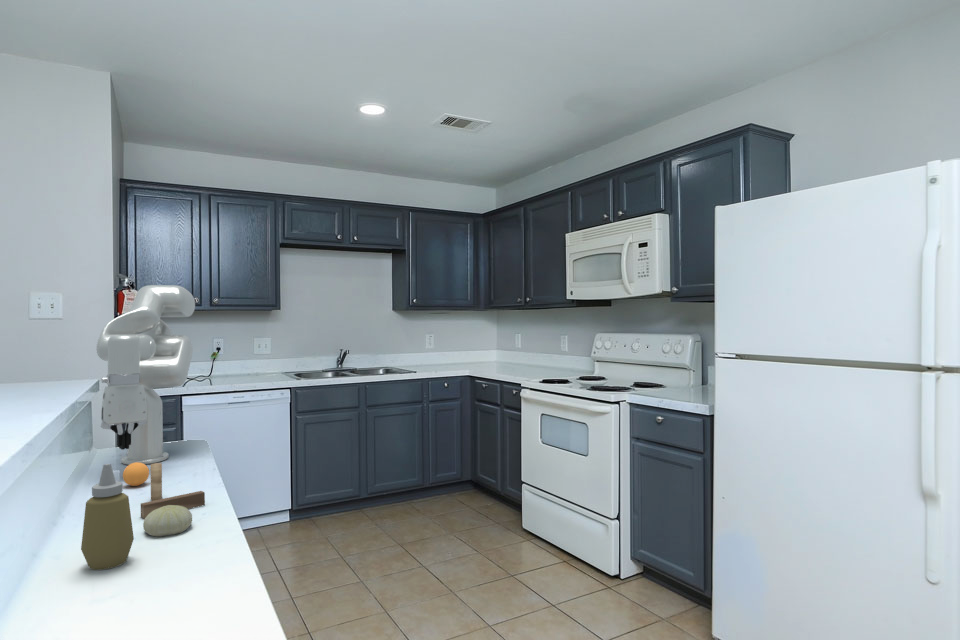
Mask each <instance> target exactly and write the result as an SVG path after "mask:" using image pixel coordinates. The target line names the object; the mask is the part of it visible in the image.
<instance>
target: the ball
mask: <svg viewBox="0 0 960 640" xmlns="http://www.w3.org/2000/svg"><path fill="white" fill-rule="evenodd" d="M149 476H150V470H149V467H148V466H147V464H143V463H140V462H136V463H132V464H130V465H127V466H126V467H125V468H124V470H123V472H122V479H123V482H124V483H125V484H126V485H129V486H131V487H138V486H141V485H143V484H144V483H146V482H147V481H148V478H150V477H149Z"/></svg>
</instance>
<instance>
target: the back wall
mask: <svg viewBox="0 0 960 640" xmlns="http://www.w3.org/2000/svg"><path fill="white" fill-rule="evenodd" d="M205 494H206V493H205V491H203V490H199V491H194V492H189V493H183V494H179V495H175V496H170V497H166V498H165V497H164V498H162V499H160V500H155V501H152V500H150V501H147V502H141V503H140V518H141V519H142V520H145V518H146V516H147V515H148V514H149V513H151V512H152V511H154V510H156V509H158V508H160V507H163V506H167V505H178V506H183V507H185V508H187V509H188V510H190V509H194V508H193V507H195V508H198V506H199V507H203V506H202V505H204V506H206V505H205V504H206V495H205ZM189 508H190V509H189Z"/></svg>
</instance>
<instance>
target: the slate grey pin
mask: <svg viewBox="0 0 960 640" xmlns="http://www.w3.org/2000/svg"><path fill="white" fill-rule="evenodd" d="M112 470H113V474H114V477H115V481H118V482H121V481H120V480H121V477H120V476H121V475H120V470H119V469H115V470H114V469H112Z"/></svg>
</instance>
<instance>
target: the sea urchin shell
mask: <svg viewBox="0 0 960 640" xmlns="http://www.w3.org/2000/svg"><path fill="white" fill-rule="evenodd" d="M192 523H193V513H192V512H191V511H190V509H187V508H185V507H183V506H178V505H167V506H163V507H160V508H158V509H156V510H154V511H152V512H151V513H149V514H148V515H147V516H146V518H145V519H143V523H142V526H143V530H144V532H146V533H147V534H148V535H149V536H152V537H156V538H159V537H164V536H173V535H177V534H181V533H183V532H184V531H186V530H187V529H188V528H189V527H190V526H191V524H192Z"/></svg>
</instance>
